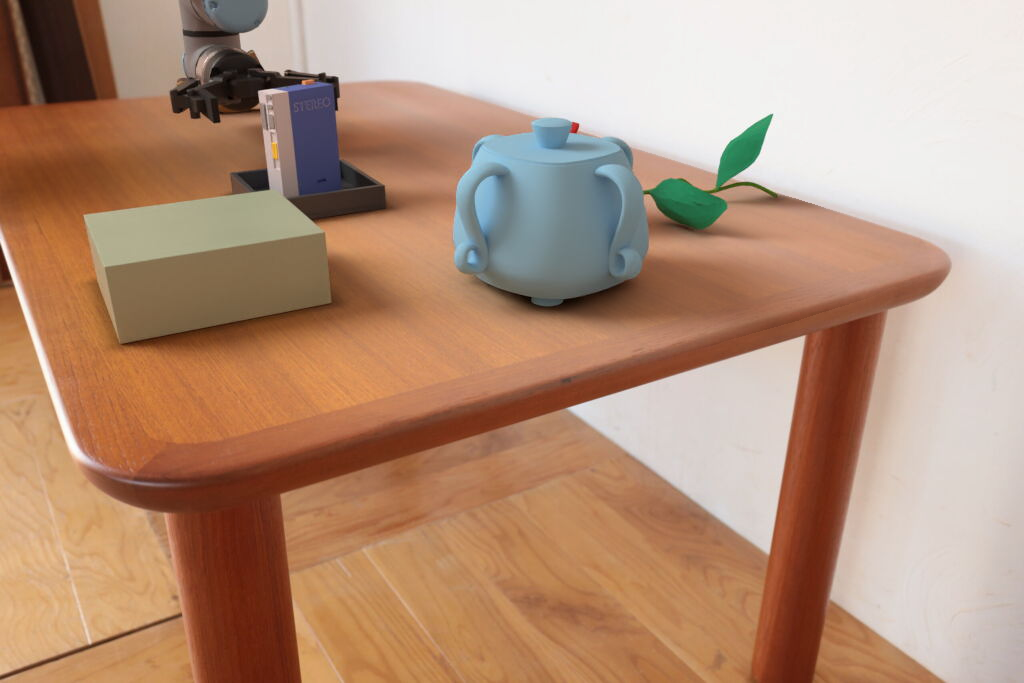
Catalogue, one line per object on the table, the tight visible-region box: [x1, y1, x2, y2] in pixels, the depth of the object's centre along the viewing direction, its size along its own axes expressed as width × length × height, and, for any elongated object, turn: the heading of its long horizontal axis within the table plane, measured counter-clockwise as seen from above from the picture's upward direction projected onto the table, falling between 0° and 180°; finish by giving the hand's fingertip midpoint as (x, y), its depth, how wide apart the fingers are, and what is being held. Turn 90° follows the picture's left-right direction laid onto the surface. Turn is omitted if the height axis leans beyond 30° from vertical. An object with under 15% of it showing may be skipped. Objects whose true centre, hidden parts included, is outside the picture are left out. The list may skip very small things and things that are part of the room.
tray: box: [229, 158, 387, 220], centre depth 98 cm, size 13×13×2 cm
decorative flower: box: [570, 113, 779, 231], centre depth 90 cm, size 14×30×10 cm, turn 104°
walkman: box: [258, 80, 342, 198], centre depth 95 cm, size 8×3×12 cm, turn 139°
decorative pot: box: [452, 117, 650, 307], centre depth 74 cm, size 16×16×14 cm
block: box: [83, 189, 332, 345], centre depth 73 cm, size 14×16×6 cm
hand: (276, 104), depth 101 cm, fingers open, 13 cm apart
